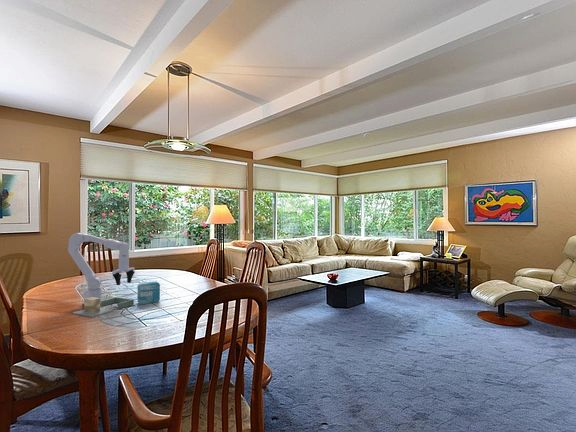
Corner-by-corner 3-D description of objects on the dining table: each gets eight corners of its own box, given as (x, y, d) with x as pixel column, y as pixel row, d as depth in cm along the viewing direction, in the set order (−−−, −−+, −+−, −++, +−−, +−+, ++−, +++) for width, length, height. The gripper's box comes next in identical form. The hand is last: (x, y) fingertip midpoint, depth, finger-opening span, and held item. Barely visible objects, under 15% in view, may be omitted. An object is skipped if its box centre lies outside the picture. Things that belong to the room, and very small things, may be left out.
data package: (138, 304, 186) (138, 284, 186) (137, 303, 190) (137, 283, 190) (159, 301, 193) (160, 282, 193) (158, 300, 197) (158, 281, 197)
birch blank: (93, 313, 169) (93, 300, 169) (84, 311, 171) (84, 298, 171) (100, 311, 172) (100, 298, 172) (91, 309, 175) (91, 296, 175)
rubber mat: (72, 313, 169) (72, 312, 169) (93, 307, 180) (93, 306, 180) (91, 317, 163) (91, 316, 163) (112, 311, 174) (112, 310, 174)
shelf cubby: (100, 305, 184) (100, 300, 184) (116, 301, 193) (116, 296, 193) (118, 308, 178) (118, 303, 178) (133, 304, 187) (133, 299, 187)
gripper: (117, 264, 188) (117, 286, 188) (138, 261, 201) (138, 282, 201) (109, 263, 191) (109, 285, 191) (130, 260, 204) (130, 281, 204)
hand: (123, 283), depth 196 cm, fingers open, 7 cm apart
